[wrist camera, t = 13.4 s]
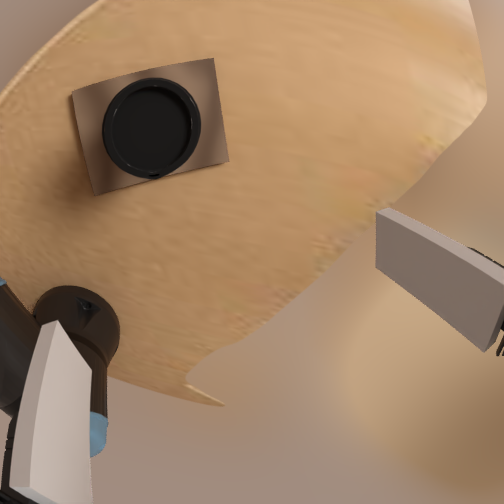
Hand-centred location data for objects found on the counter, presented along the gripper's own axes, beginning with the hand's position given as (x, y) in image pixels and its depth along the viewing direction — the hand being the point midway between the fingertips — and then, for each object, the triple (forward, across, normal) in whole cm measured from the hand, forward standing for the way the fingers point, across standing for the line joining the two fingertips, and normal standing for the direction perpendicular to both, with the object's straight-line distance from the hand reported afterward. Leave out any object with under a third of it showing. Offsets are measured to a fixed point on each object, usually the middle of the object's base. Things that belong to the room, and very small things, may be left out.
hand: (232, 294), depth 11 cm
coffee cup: (+30, -1, +6) cm, 30 cm away
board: (+31, -1, +6) cm, 32 cm away
